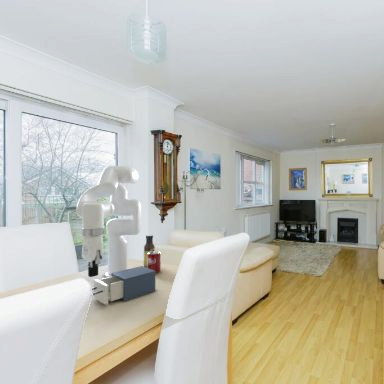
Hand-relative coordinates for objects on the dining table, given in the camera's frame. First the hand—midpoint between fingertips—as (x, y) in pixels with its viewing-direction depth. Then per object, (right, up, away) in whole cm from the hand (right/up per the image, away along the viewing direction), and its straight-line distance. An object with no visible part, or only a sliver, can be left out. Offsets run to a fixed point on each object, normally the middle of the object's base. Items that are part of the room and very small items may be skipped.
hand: (93, 275), depth 108 cm
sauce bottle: (+2, -12, +52) cm, 53 cm away
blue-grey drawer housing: (+11, -12, +13) cm, 21 cm away
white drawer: (+4, -11, +5) cm, 13 cm away
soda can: (+9, -12, +41) cm, 44 cm away
